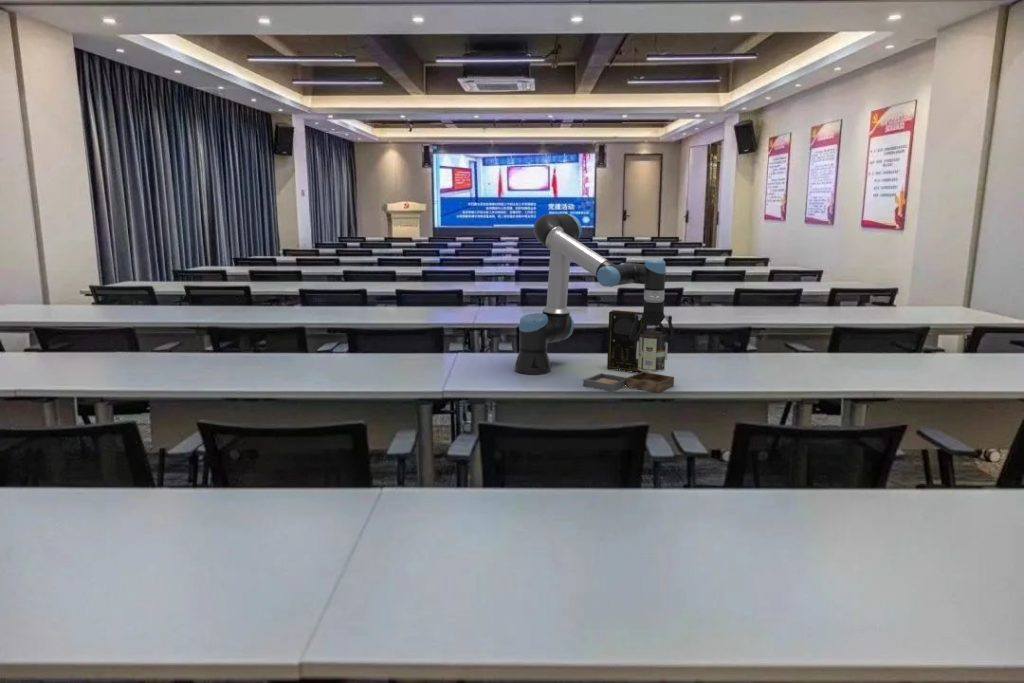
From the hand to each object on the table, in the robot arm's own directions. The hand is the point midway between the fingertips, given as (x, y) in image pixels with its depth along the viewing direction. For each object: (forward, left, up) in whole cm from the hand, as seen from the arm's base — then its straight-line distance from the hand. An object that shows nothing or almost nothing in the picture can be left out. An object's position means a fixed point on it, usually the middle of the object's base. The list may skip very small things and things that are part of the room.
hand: (651, 358), depth 263 cm
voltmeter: (-20, +18, -11) cm, 29 cm away
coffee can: (0, 0, -4) cm, 4 cm away
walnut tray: (0, 0, -11) cm, 11 cm away
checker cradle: (-14, -9, -11) cm, 20 cm away
